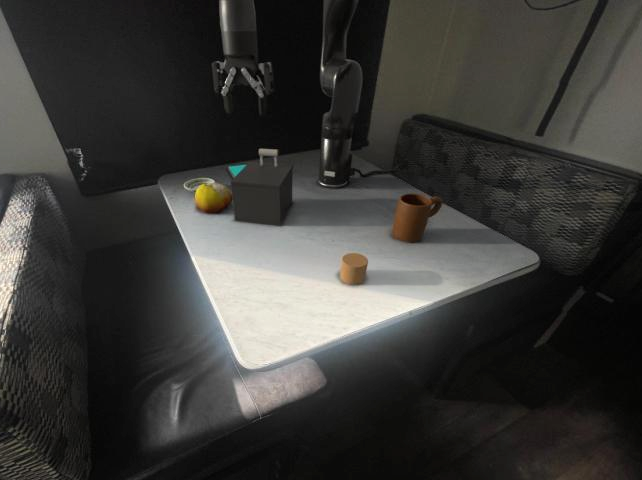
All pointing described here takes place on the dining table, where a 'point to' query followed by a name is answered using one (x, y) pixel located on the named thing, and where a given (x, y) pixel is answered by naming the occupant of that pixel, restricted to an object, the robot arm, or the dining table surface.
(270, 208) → the dark gray cube box
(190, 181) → the saucer
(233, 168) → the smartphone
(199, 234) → the dining table surface
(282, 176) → the lid
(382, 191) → the dining table surface
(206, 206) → the fruit
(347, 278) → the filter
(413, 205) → the mug
